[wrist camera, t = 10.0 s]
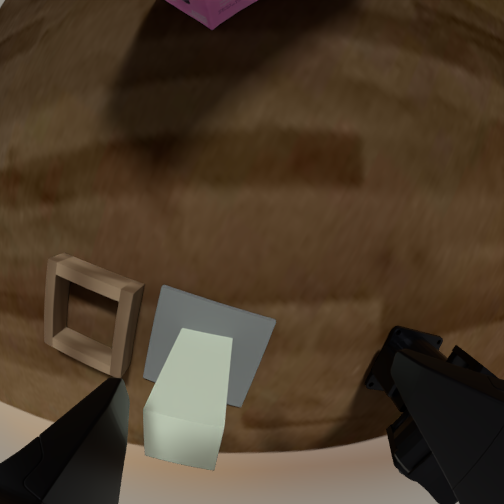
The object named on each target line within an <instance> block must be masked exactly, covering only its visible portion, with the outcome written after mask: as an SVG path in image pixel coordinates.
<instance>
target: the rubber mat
mask: <svg viewBox="0 0 504 504" xmlns="http://www.w3.org/2000/svg"><path fill="white" fill-rule="evenodd" d="M275 323H276V320H275V319H272V318H269V317H265V316H262V315H258V314H255V313H251V312H248V311H245V310H241V309H238V308H235V307H231V306H228V305H225V304H222V303H218V302H215V301H212V300H209V299H206V298H203V297H200V296H196V295H193V294H190V293H187V292H184V291H181V290H178V289H175V288H172V287H170V286H167V285H163V286H162V288H161V292H160V296H159V301H158V305H157V310H156V314H155V319H154V323H153V328H152V333H151V338H150V343H149V348H148V353H147V358H146V364H145V369H144V375H143V378H145V379H148V380H151V381H153V382H156V381H157V379H158V377H159V375H160V373H161V370H162V368H163V366H164V364H165V362H166V360H167V358H168V356H169V354H170V352H171V350H172V348H173V345H174V343H175V341H176V339H177V337H178V335H179V333H180V331H181V329H182V328H185V329H190V330H194V331H199V332H204V333H209V334H214V335H219V336H224V337H229V338H233V340H232V350H231V361H230V371H229V381H228V392H227V403H226V404H229V405H233V406H237V407H241V406H242V404H243V401H244V399H245V397H246V394H247V392H248V390H249V387H250V385H251V383H252V380H253V378H254V376H255V373H256V371H257V368H258V366H259V363H260V361H261V359H262V356H263V354H264V351H265V349H266V346H267V344H268V341H269V339H270V336H271V334H272V331H273V328H274V326H275Z"/></svg>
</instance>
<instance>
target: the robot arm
mask: <svg viewBox="0 0 504 504" xmlns="http://www.w3.org/2000/svg"><path fill="white" fill-rule="evenodd" d="M398 330H399V331H398ZM397 331H398V333H396V332H397ZM438 340H439V341H438ZM437 341H438V342H437ZM442 342H443V339H442V338H441V337H440V336H437V335H433V334H429V333H425V332H421V331H417V330H413V329H409V328H405V327H402V326H395V327H394V328H393V329H392V331H391V333H390V335H389V338H388V340H387V342H386V344H385V346H384V348H383V349H382V351H381V353H380V355H379V357H378V359H377V361H376V363H375V364H374V366H373V368H372V370H371V372H370V374H369V376H368V378H367V380H366V381H365V386H366V387H367V388H368V389H374V390H382V391H385V393H386V394H387V395H388V397H390V398H391V399H392V401H393V402H394V404H395V405H396V407H397V408H398V410H399V411H400V412H403V414H402V415H401V416H400V417H399V418H398V419H397V420H396V421H395V422H394V423H393V424H391V425H390V426H389V427H388V428H387V429H386V431H387V435H388V440H389V444H390V449H391V454H392V459H393V462H394V466H395V467H396V468H397V469H398V470H399V472H400V473H401V474H403V475H405V476H406V477H407V478H409V479H410V480H413V481H416V482H418V483H419V484H420V485H421V486H423V487H424V488H425V489H426V490H427V491H428V492H429V493H430V494H431V496H432V497H433V498H434V499H435V500H436V501H437V502H438V503H439V504H455V503H457V502H458V501H459V503H460V504H504V380H502V379H499V378H497V377H496V376H495V375H494V374H493V373H491V372H490V371H489V370H488V369H486V368H485V367H484V366H483V365H481V364H480V363H479V362H478V361H476V360H475V359H474V358H472V357H471V356H470V355H469V354H467V353H466V352H465V351H463V350H462V349H461V348H460V347H458V346H457V345H455V347H454V348H453V350H452V351H453V352H452V353H451V354H450V356H449V357H448V358H447V357H446V356H445V355H443V354H442V353H441V352H440V351H439V348H440V346H441V344H442ZM371 382H372V383H371ZM370 383H371V384H370ZM129 404H130V403H129V396H128V393H127V390H126V387H125V383H124V381H123V379H122V378H115V377H110V378H108V379H107V380H106V381H104V382H103V383H102V384H101V385H100V386H98V387H97V388H96V389H95V390H94V391H92V392H91V393H90V394H89V395H88V396H86V397H85V398H84V399H83V400H81V401H80V402H79V403H78V404H77V405H75V406H74V407H73V408H72V409H71V410H69V411H68V412H67V413H66V414H64V415H63V416H62V417H61V418H60V419H58V420H57V421H56V422H55V423H54V424H52V425H51V426H50V427H49V428H47V429H46V430H45V431H44V432H43V433H41V434H40V436H39V437H36V438H35V439H34V440H33V441H31V442H30V443H29V444H28V445H26V446H25V447H24V448H22V449H21V450H20V451H18V452H17V453H15V454H14V455H12V456H11V457H9V458H8V459H6V460H5V461H3V462H2V463H0V504H118V502H119V494H120V486H121V479H122V472H123V466H124V460H125V454H126V447H127V435H128V418H129Z"/></svg>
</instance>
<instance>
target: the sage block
mask: <svg viewBox="0 0 504 504" xmlns="http://www.w3.org/2000/svg"><path fill="white" fill-rule="evenodd" d="M232 340H233V338H229V337H224V336H219V335H214V334H209V333H204V332H199V331H194V330H190V329H185V328H182V329H181V331H180V333H179V335H178V337H177V339H176V341H175V343H174V345H173V348H172V350H171V352H170V354H169V356H168V358H167V360H166V362H165V364H164V366H163V368H162V370H161V373H160V375H159V377H158V379H157V381H156V383H155V385H154V387H153V390H152V392H151V394H150V396H149V398H148V400H147V402H146V405H145V407H144V409H143V420H144V449H145V455H146V456H149V457H153V458H157V459H160V460H164V461H168V462H173V463H177V464H181V465H186V466H191V467H197V468H202V469H207V470H214V469H215V465H216V460H217V456H218V452H219V448H220V444H221V439H222V435H223V431H224V425H225V414H226V403H227V392H228V381H229V371H230V361H231V350H232Z"/></svg>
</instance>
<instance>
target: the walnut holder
mask: <svg viewBox="0 0 504 504" xmlns="http://www.w3.org/2000/svg"><path fill="white" fill-rule="evenodd" d="M70 281H71V282H73V283H76V284H78V285H80V286H83V287H85V288H87V289H89V290H92V291H94V292H97V293H99V294H101V295H104V296H106V297H109V298H111V299H114V300H116V301H119V304H118V310H117V316H116V323H115V330H114V338H113V346H112V348H111V347H108V346H106V345H104V344H101V343H99V342H97V341H95V340H93V339H90V338H88V337H86V336H84V335H82V334H80V333H78V332H76V331H74V330H72V329H70V328H68V327H66V326H67V309H68V296H69V286H70ZM144 285H145V284H143V283H140V282H138V281H135V280H132V279H129V278H127V277H124V276H121V275H119V274H116V273H114V272H111V271H108V270H106V269H103V268H101V267H98V266H96V265H93V264H91V263H88V262H86V261H83V260H81V259H78V258H76V257H73V256H71V255H69V254H66V253H63V254H60V255H57V256H54V257H51V258H48V265H47V275H46V288H45V309H44V342H45V343H46V344H48V345H50V346H52V347H54V348H55V349H57V350H59V351H61V352H63V353H65V354H67V355H69V356H71V357H73V358H75V359H77V360H79V361H81V362H83V363H85V364H87V365H89V366H91V367H93V368H95V369H97V370H100V371H102V372H104V373H106V374H109V375H111V376H113V377H116V378H122V376H123V375H124V373H125V372H126V370H127V369H128V367H129V366H130V362H131V355H132V349H133V343H134V337H135V331H136V325H137V320H138V315H139V309H140V304H141V299H142V295H143V290H144Z"/></svg>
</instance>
